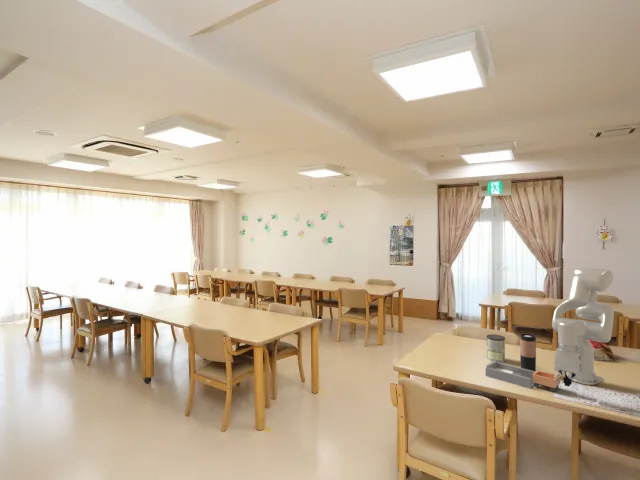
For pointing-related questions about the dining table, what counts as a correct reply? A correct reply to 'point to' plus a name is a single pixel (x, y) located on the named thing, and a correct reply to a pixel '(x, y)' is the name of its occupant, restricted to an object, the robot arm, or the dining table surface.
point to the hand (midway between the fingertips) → (567, 385)
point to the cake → (602, 351)
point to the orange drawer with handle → (546, 379)
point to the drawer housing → (510, 374)
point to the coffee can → (496, 348)
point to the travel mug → (528, 352)
